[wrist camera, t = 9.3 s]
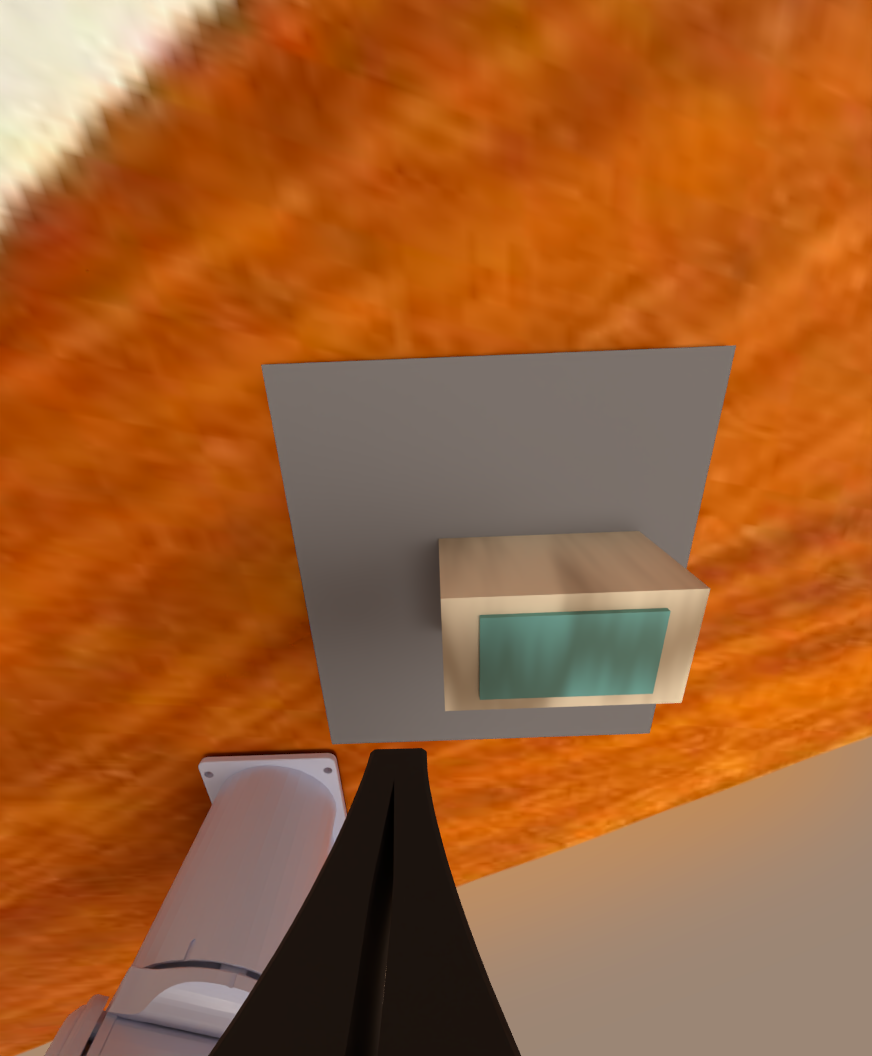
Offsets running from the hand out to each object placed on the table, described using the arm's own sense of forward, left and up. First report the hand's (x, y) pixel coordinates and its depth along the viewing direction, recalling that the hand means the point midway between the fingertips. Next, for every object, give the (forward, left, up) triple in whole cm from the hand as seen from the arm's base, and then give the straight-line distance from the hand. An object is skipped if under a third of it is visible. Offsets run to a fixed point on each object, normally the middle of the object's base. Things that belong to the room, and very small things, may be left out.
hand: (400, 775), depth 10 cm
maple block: (0, -1, -7) cm, 7 cm away
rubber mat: (0, -4, -10) cm, 10 cm away
